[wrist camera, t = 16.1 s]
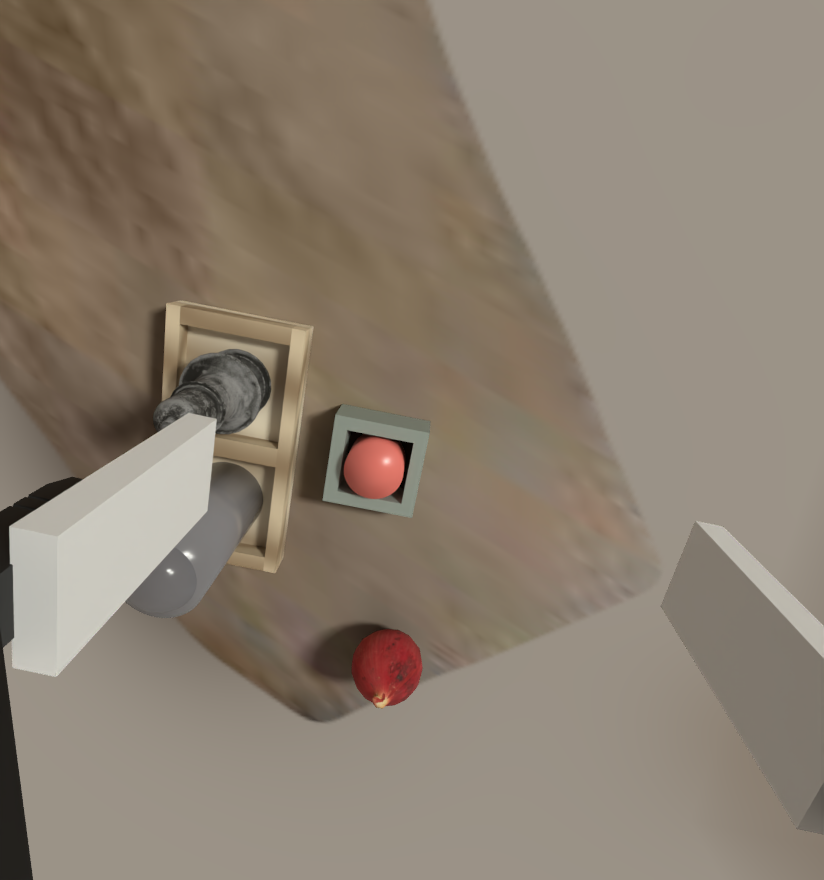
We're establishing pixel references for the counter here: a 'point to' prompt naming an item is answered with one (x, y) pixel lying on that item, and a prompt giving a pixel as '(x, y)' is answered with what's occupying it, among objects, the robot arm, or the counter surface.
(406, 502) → the grey-green square box
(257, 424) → the tray
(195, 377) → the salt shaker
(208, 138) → the counter surface
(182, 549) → the pepper pot
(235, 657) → the counter surface
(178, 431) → the robot arm
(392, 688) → the onion
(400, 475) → the button
